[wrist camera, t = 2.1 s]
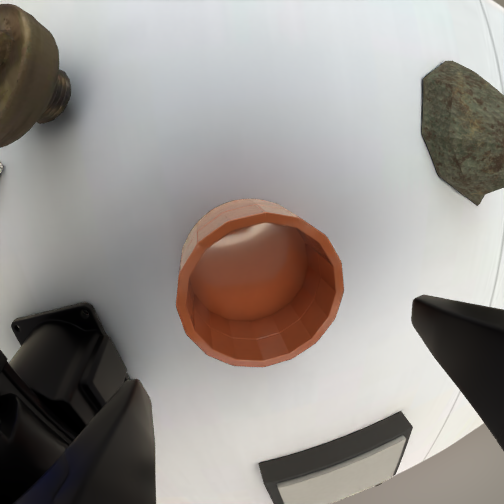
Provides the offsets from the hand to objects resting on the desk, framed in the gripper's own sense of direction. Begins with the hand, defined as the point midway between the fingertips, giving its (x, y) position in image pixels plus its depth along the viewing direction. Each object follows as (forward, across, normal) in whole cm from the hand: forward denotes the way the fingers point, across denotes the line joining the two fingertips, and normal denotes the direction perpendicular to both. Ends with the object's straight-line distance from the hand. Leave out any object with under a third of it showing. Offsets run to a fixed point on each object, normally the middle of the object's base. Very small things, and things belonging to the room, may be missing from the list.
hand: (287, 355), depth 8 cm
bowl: (+8, 0, 0) cm, 8 cm away
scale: (+8, -4, +24) cm, 26 cm away
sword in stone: (+8, -16, -5) cm, 19 cm away
